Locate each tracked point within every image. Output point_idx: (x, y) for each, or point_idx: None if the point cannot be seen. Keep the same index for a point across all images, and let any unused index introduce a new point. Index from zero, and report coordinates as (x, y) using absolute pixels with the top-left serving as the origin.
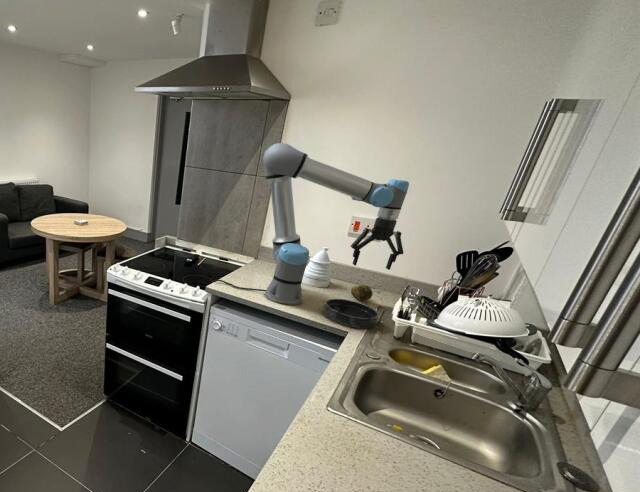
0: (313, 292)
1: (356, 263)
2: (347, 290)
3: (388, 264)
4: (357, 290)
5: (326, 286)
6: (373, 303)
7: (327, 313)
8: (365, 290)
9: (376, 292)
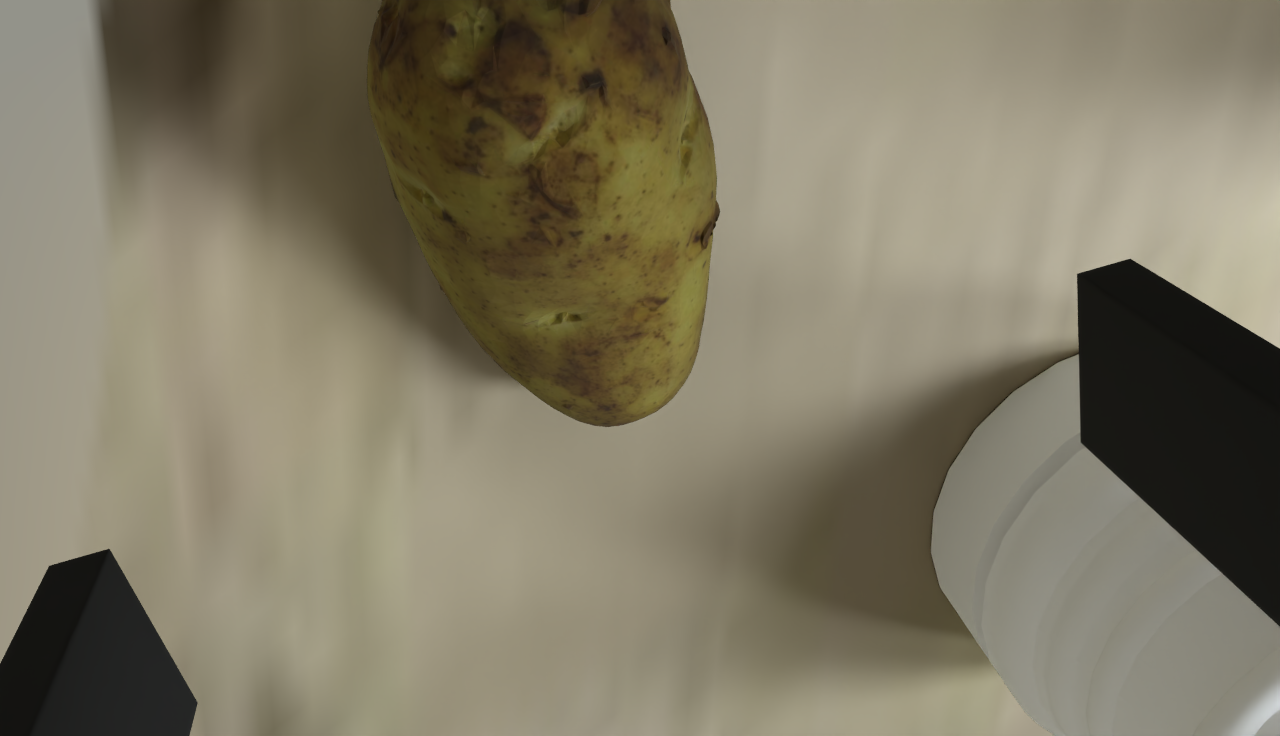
0: (1210, 36)
1: (1122, 303)
2: (685, 509)
3: (110, 732)
4: (670, 9)
5: (975, 440)
6: (306, 166)
7: None
8: None
9: (296, 712)
